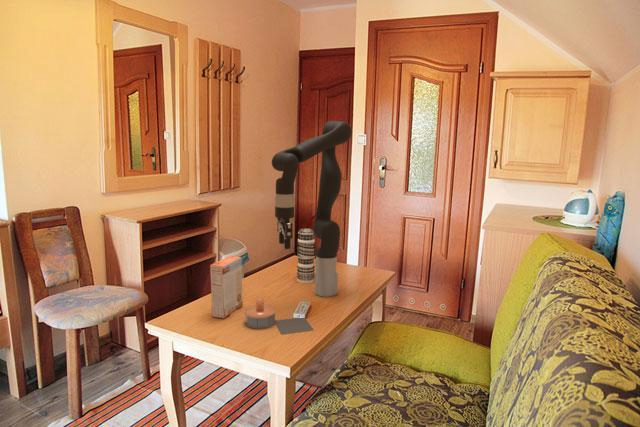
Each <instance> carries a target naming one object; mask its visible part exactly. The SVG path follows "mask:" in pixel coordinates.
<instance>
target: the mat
mask: <svg viewBox="0 0 640 427" xmlns="http://www.w3.org/2000/svg"><path fill="white" fill-rule="evenodd" d="M274 324H275V326H276V328H277V330H278V331H279V333H280V335H281V336H283V335H289V334H296V333H306V332H311V331H315V329H314V328H313V327H312V325H311V324H310V323H309V321H308V320H307V318H306V317H305V318H299V317H293V318H286V319H285V318H284V319H277V320H276V319H275V323H274Z"/></svg>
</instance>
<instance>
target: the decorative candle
mask: <svg viewBox="0 0 640 427" xmlns="http://www.w3.org/2000/svg"><path fill="white" fill-rule="evenodd" d="M297 234H298V235H297V236H298V238H297V241H296V246H297V247H296V249H297V250H296V252H297V253H296V254H297V255H296V257H297V261H298V262H297V266H296V267H297V272H296V277H297V279H296V280H297V282H299V283H303V284H306V283H307V284H308V283H309V284H310V283H313V282H315V275H316V265H315V261H314V260H315V258H316V250H315V249H317V248H316V246H317V244H316V243H315V234H314V231H313V229H311V228H307V227H306V228H301V229H300V230H299V231H298V232H297Z"/></svg>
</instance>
